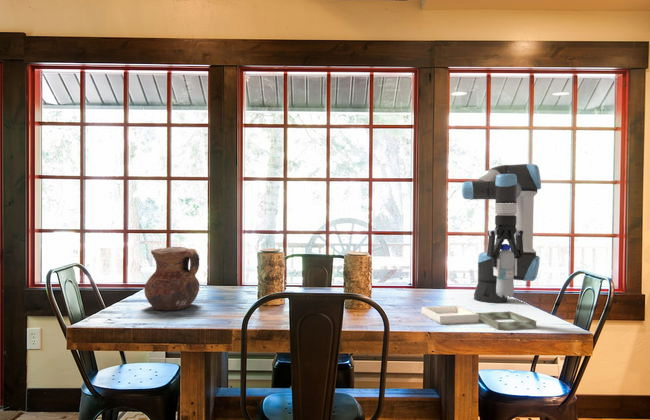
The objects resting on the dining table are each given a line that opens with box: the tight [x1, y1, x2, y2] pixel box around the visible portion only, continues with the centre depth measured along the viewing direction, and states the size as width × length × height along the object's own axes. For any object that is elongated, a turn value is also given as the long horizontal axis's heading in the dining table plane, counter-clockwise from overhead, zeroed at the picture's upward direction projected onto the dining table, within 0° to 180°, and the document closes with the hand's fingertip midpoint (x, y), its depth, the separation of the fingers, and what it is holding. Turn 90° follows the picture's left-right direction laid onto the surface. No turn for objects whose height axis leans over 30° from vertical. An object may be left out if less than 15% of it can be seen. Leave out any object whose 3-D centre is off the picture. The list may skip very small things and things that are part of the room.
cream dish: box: [421, 305, 480, 325], centre depth 179 cm, size 16×16×3 cm
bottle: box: [496, 243, 515, 298], centre depth 172 cm, size 7×7×20 cm
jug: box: [143, 246, 200, 311], centre depth 193 cm, size 22×21×25 cm
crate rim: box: [475, 310, 537, 331], centre depth 172 cm, size 16×16×2 cm
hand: (505, 275), depth 173 cm, fingers closed on bottle, 7 cm apart
